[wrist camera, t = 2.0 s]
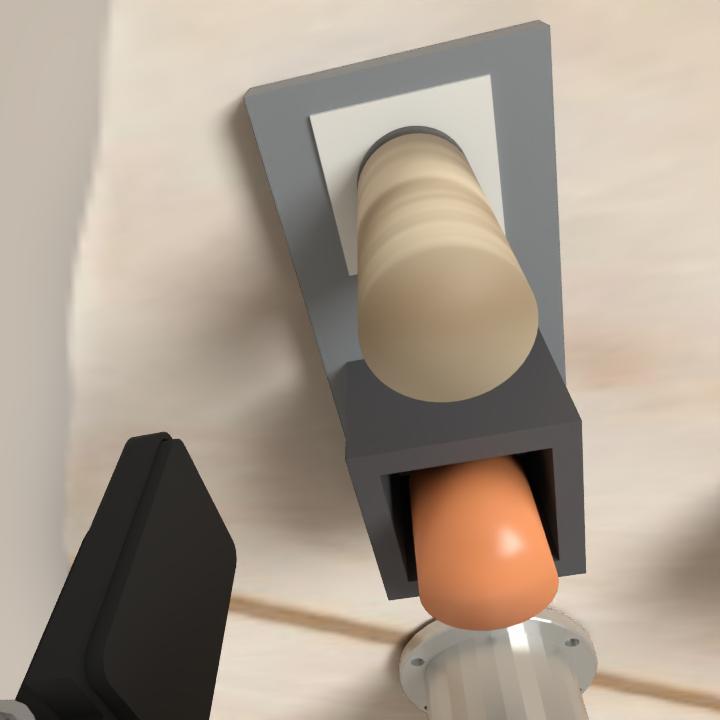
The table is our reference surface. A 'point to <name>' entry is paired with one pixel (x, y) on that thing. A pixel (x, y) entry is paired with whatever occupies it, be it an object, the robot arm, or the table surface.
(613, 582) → the table surface
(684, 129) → the table surface
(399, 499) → the board
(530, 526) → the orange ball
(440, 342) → the beige wooden cylinder
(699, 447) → the table surface
